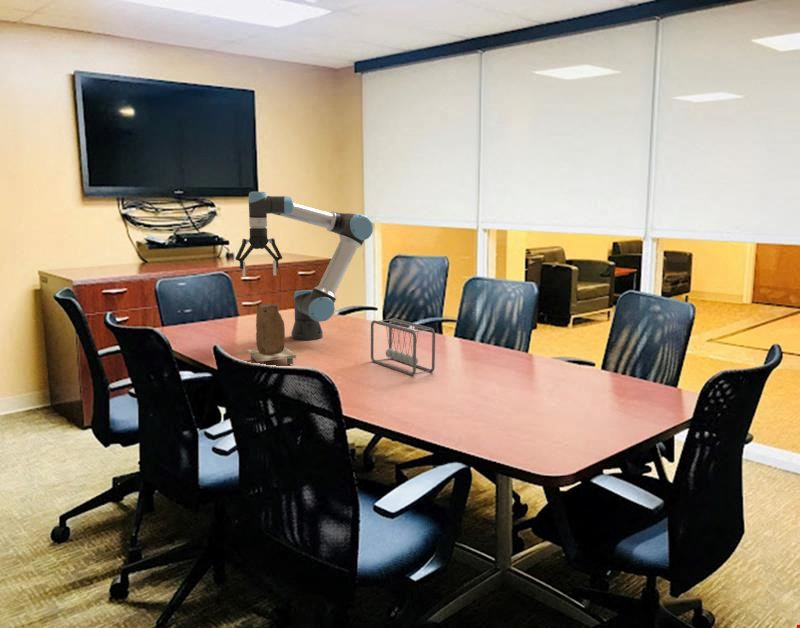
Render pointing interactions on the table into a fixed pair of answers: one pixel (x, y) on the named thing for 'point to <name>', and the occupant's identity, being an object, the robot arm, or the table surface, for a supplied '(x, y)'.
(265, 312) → the block
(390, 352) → the newton's cradle
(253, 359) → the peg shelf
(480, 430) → the table surface
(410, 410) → the table surface
